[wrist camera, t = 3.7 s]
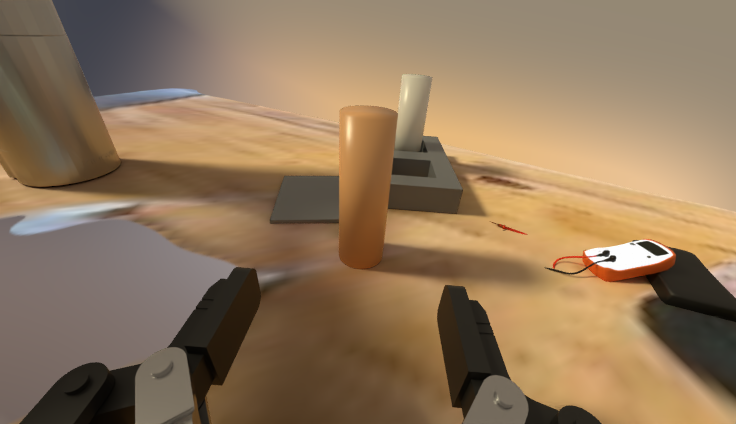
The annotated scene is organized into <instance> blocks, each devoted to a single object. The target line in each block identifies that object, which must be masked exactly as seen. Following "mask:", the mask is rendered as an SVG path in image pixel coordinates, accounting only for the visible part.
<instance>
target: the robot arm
mask: <svg viewBox="0 0 736 424" xmlns="http://www.w3.org/2000/svg"><path fill="white" fill-rule="evenodd" d="M0 164H1V165H2V167H3V168H4V170H5V171H6V173H7V174H8V176H9V177H13V178H17V180H18V181H19V182H20V183H22V184H24V185H28V186H37V187H40V186H59V185H66V184H72V183H77V182H82V181H86V180H90V179H94V178H97V177H99V176H102V175H105V174H107V173H109V172H111V171H113V170H115V169H116V168H117V167H119V166H120V164H121V161H120V159H119V156H118V154H117V152H116V149H115V147H114V145H113V142H112V140H111V138H110V135H109V133H108V130H107V128H106V126H105V123H104V121H103V119H102V116H101V114H100V112H99V109H98V107H97V105H96V102H95V100H94V98H93V95H92V93H91V91H90V89H89V86H88V84H87V81H86V79H85V77H84V74H83V72H82V70H81V68H80V65H79V63H78V60H77V58H76V56H75V53H74V51H73V49H72V46H71V44H70V42H69V39H68V37H67V35H66V33H65V30H64V28H63V26H62V23H61V21H60V19H59V16H58V14H57V12H56V9H55V7H54V5H53V2H52V0H0ZM260 299H261V292H260V287H259V283H258V278H257V273H256V270H255V269H253V268H241V267H236V268H234V269H233V271H232V272H231V274H230V275H229V277H228V279H220V280H219V281H218V282H216V283H215V284H214V285H213V286H211V287H210V288H209V289H208V291H207V292H206V294H205V295H204V296H203V298H202V301H200V302H199V304H198V305H197V307H196V309H195V310H194V311H193V312H192V314H191V315H190V317H189V318H188V319H187V321H186V322H185V324H184V325H183V327H182V328H181V330H180V331H179V332H178V334H177V335H176V337H175V338H174V340H173V341H172V343H171V344H170V345H169V346H168V347H167V348H165V349H162V350H160V351H158V352H156V353H154V354H152V355H151V356H150V357H148V358H147V359H146V360H145V361H144V362H143V363H142V364H138V365H134V366H129V367H125V368H120V369H116V370H111V371H109V370H108V368H107V367H106V366H105V365H104V364H102V363H97V362H96V363H88V364H85V365H82V366H79V367H77V368H75V369H73V370H71V371H70V372H68V373H67V374H65V375H64V376H63V377H61V378H60V379H59V380H58V381H57V382H56V383H55V384H54V385H53V386H52V388H51V389H50V390H49V391H48V392H47V393H46V394H45V395H44V396H43V398H42V399H41V400H40V401H39V403H38V404H37V405H36V406H35V407H34V408H33V409H32V410H31V411H30V412H29V413H28V415H27V416H26V417H25V418H24V419H23V420H22V421H21V423H20V424H212V422H211V417H210V412H209V407H208V401H207V397H206V394H207V392H208V390H209V388H210V386H211V385H223V383H224V380H225V378H226V376H227V374H228V372H229V370H230V368H231V365H232V363H233V361H234V359H235V357H236V355H237V353H238V350H239V348H240V346H241V344H242V342H243V340H244V338H245V335H246V333H247V331H248V329H249V327H250V325H251V322H252V320H253V318H254V316H255V314H256V312H257V310H258V307H259V304H260ZM437 321H438V328H439V334H440V339H441V345H442V351H443V356H444V362H445V368H446V373H447V379H448V385H449V390H450V396H451V402H452V407H456V408H462V411H463V416H464V420H463V422H462V424H601V423H600V421H599V420H598V419H596V418H595V417H594V416H593V415H592V414H590V413H589V412H587V411H586V410H584V409H582V408H579V407H576V406H565V407H563V408H562V409H560V411H558V410H556V409H553V408H551V407H548V406H546V405H544V404H541V403H539V402H536V401H534V400H532V399H530V398H529V397H527V396H526V395H524V393H523V392H522V390H521V389H520V388H519V387H518V386H517V385H516V384H515V383H514V382H512V381H511V379H510V377H509V375H508V372H507V370H506V367H505V364H504V361H503V358H502V356H501V353H500V350H499V347H498V344H497V342H496V339H495V336H494V335H493V334H494V333H493V330H492V328H491V326H490V322H489V319H488V316H487V314H486V311H485V310H484V309H483V308H482V306H481V305H480V304H479V303H478V301H475V300H469V298H468V295H467V292H466V289H465V287H463V286H452V285H445V287H444V290H443V293H442V297H441V300H440V304H439V307H438V313H437Z"/></svg>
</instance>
